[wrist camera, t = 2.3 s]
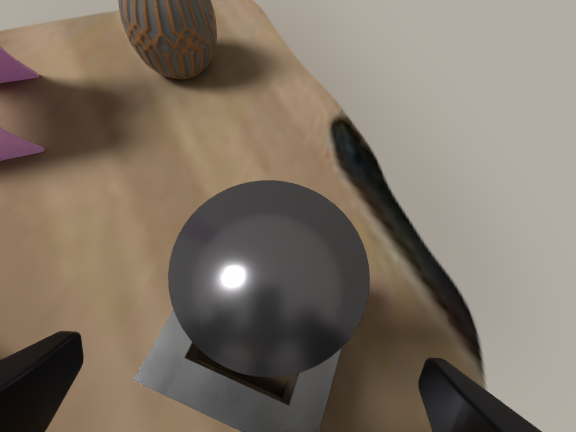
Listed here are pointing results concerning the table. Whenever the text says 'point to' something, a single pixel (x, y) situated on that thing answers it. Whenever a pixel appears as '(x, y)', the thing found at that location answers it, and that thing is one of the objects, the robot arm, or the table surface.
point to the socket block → (234, 388)
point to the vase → (171, 34)
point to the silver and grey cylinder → (269, 278)
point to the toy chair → (3, 142)
